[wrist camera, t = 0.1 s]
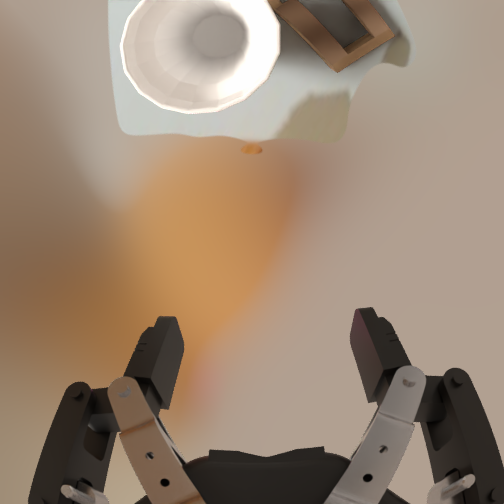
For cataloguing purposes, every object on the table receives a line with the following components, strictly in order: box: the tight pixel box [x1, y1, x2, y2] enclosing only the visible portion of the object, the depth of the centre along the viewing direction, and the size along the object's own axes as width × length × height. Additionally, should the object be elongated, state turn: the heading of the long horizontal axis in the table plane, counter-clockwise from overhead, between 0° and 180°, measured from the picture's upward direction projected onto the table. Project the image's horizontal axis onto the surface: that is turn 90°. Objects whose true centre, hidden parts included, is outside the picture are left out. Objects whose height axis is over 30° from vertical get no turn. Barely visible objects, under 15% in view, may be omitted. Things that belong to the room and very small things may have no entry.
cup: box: [120, 0, 280, 114], centre depth 20 cm, size 12×12×15 cm
